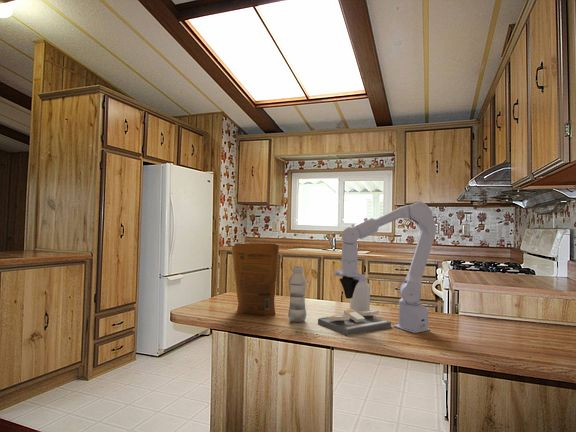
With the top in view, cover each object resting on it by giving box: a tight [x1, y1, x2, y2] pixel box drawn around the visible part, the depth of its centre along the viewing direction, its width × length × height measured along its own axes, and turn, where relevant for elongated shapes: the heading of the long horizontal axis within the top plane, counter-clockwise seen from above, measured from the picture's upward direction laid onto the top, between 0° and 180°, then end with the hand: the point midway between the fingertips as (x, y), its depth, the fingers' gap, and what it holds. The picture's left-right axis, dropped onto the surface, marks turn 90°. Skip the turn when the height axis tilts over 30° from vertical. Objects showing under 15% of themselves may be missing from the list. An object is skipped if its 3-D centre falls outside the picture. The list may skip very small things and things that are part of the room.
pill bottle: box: [349, 275, 371, 312], centre depth 151 cm, size 8×8×15 cm
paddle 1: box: [328, 314, 350, 320], centre depth 128 cm, size 7×4×1 cm, turn 32°
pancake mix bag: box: [231, 242, 280, 316], centre depth 147 cm, size 7×19×28 cm, turn 73°
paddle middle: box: [343, 308, 365, 323], centre depth 132 cm, size 7×4×1 cm, turn 32°
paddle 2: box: [358, 310, 380, 316], centre depth 136 cm, size 7×4×1 cm, turn 32°
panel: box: [317, 312, 392, 336], centre depth 132 cm, size 16×20×3 cm
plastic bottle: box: [287, 266, 307, 323], centre depth 136 cm, size 6×7×20 cm
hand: (348, 298), depth 134 cm, fingers closed
